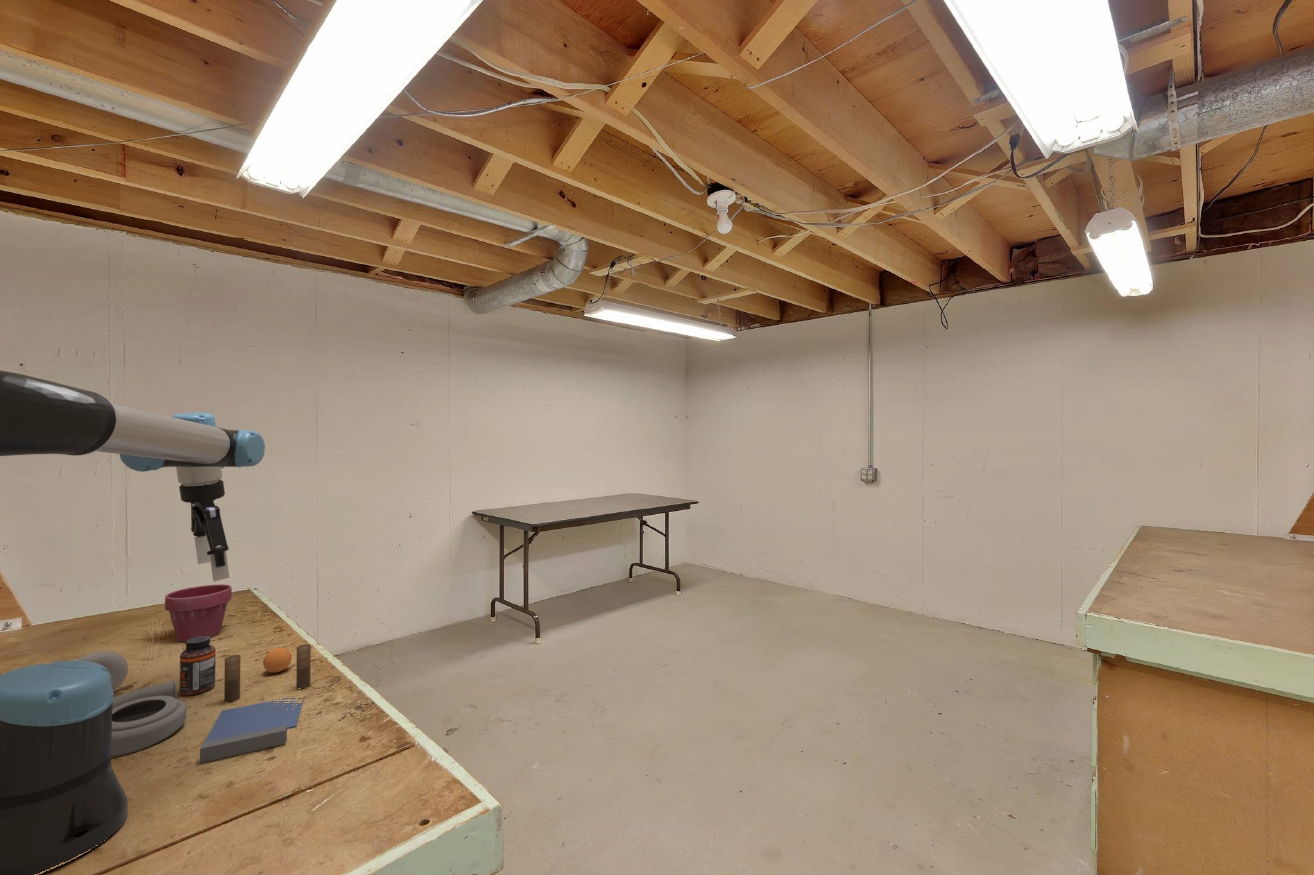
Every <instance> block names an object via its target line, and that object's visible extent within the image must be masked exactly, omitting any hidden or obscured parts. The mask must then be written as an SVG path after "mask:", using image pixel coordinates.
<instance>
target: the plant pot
mask: <svg viewBox="0 0 1314 875" xmlns="http://www.w3.org/2000/svg"><path fill="white" fill-rule="evenodd" d="M232 590H233V589H232V586H231V585H230V584H223V583H222V584H207V585H199V586H192V587H187V588H182V589H178V590H175V591H172V592H169V593H168V594H166V595H165V596H164V597H165V598H164V610H165V611H167V612H169V615H170V619H171V623H172V628H173V630H174V633H175V637H176V640H177V641H179V642H185V643H186V641H187V640H189V639H192V638H195V637H200V636H209V637H210V638H212V637H216V636H218V634H220V633H221V631H222V630H221V629H222V627H223V622H224V618H225V615H226V611H227V607H228V602H230V601H231V600H232V599H233V598H232V596H233V595H232V593H233V592H232Z"/></svg>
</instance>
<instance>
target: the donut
mask: <svg viewBox="0 0 1314 875" xmlns="http://www.w3.org/2000/svg"><path fill="white" fill-rule="evenodd" d="M74 661H89V662H94V663H97V664H100V665H102V666H104V667H105V668H107V669H108V671H109V673H110V675H111V686H112V689H113V692H115V691H116V690H117V689H118V688H119V687H120V686H121V685H122V684H123V682H124V681H125V679H126V678H127V675H128V672H129V665H128V662H127V660H126V658H125V657H124V656H123V655H121V654H119V653H117V652H113V651H108V650H107V651H106V650H104V651H94V652H92V653H91V652H90V653H88V654H87V653H86V654H85V655H82V656H80V657H79V658H77V659H75V660H74Z"/></svg>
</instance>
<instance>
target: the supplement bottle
mask: <svg viewBox="0 0 1314 875" xmlns="http://www.w3.org/2000/svg"><path fill="white" fill-rule="evenodd" d="M210 643H211V637H209V636H200V637H195V638H192V639H189V640H187V641H186V642H185V649H184V650H183V651H182V652H181V653H180V655H179V693H180V695H182V696H186V697H187V696H195V695H199V694H203V693H205V692H208V691H210V690H212V689H213V688H214V687H215V686H216V664H217V663H216V657H217V656H216V655H217V654H216V653H217V652H216V647H215V645H212V644H210Z"/></svg>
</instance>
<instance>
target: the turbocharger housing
mask: <svg viewBox="0 0 1314 875" xmlns="http://www.w3.org/2000/svg"><path fill="white" fill-rule="evenodd" d="M177 698H178V680H177V679H176V678H175V679H174V680H171V681H166V682H163V683H157V684H154V685H149V686H145V687H141V688H138V689H133V690H130V691H128V692H125V693H122V694H119V695H117V696H114V698H113V703H112V738H111V759H112V758H116V757H121V756H125V755H129V754H133V753H135V752H138V751H141V750H145V749H147V748H149V747H152V746H154V745H156V744H158V743H159V742H161V741H163V740H165V739H167V738H169V737H170V736H172V735H173V734H174V733H175V732H177V731H178V730H179V729H180V728H181V727H182V726H183V725H184V724H185V721H186V719H187V716H188V715H187V713H188V712H187V711H188V710H187V708H188V706H187V704H186V702H185V701H183V700H181V699H177Z"/></svg>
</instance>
